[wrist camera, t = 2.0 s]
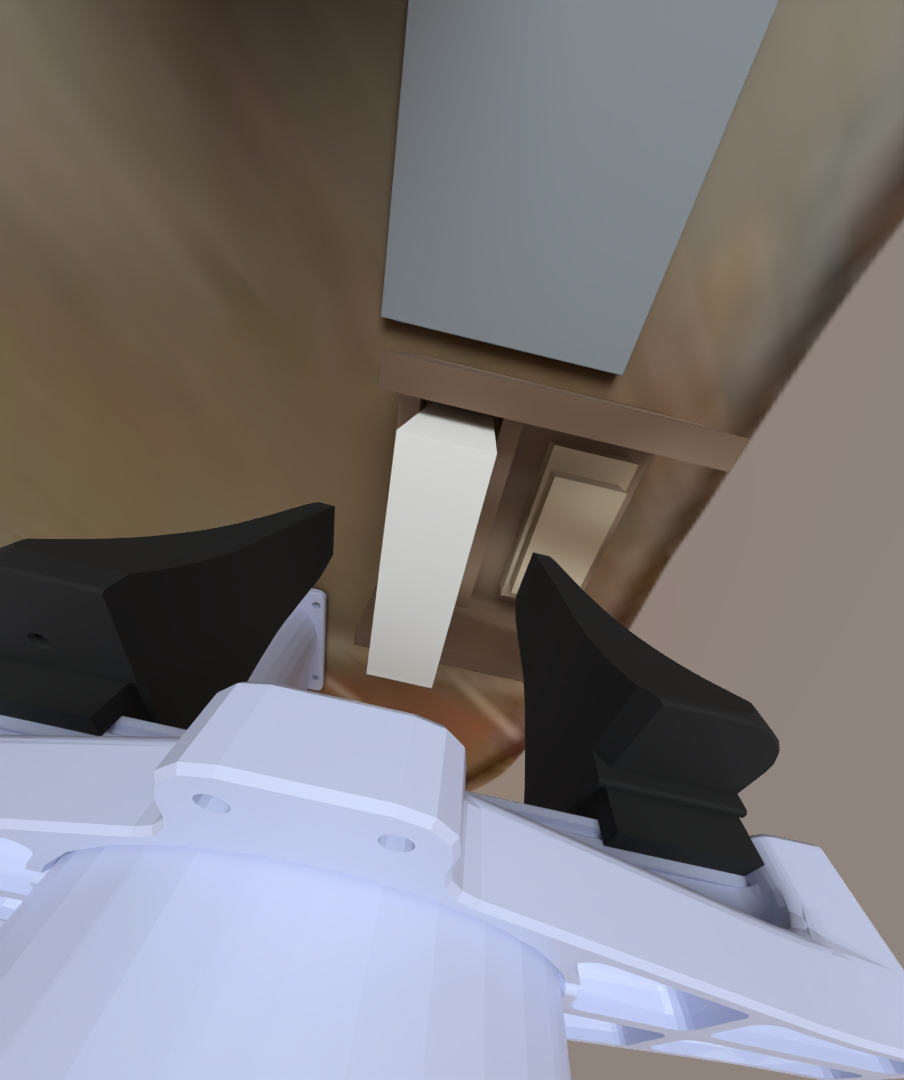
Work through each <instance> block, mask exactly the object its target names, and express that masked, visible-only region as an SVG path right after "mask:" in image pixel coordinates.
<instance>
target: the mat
mask: <svg viewBox="0 0 904 1080" xmlns="http://www.w3.org/2000/svg"><path fill="white" fill-rule="evenodd" d="M778 1H779V0H409V2H408V13H407V25H406V36H405V48H404V59H403V71H402V82H401V94H400V105H399V117H398V128H397V140H396V151H395V163H394V174H393V186H392V197H391V208H390V220H389V231H388V243H387V254H386V266H385V277H384V289H383V300H382V312H381V317H383V318H386V319H390V320H394V321H398V322H402V323H406V324H411V325H415V326H419V327H423V328H427V329H431V330H435V331H439V332H443V333H448V334H452V335H456V336H460V337H464V338H468V339H472V340H476V341H480V342H485V343H489V344H493V345H497V346H501V347H505V348H509V349H513V350H517V351H522V352H526V353H530V354H534V355H538V356H542V357H546V358H550V359H554V360H559V361H563V362H567V363H571V364H575V365H579V366H583V367H587V368H591V369H596V370H600V371H604V372H608V373H612V374H616V375H623V373H624V370H625V368H626V365H627V363H628V361H629V358H630V356H631V353H632V351H633V349H634V346H635V344H636V341H637V339H638V337H639V334H640V332H641V329H642V327H643V325H644V322H645V320H646V317H647V315H648V313H649V310H650V308H651V305H652V303H653V301H654V298H655V296H656V293H657V291H658V289H659V286H660V284H661V281H662V279H663V277H664V274H665V272H666V269H667V267H668V265H669V262H670V260H671V257H672V255H673V253H674V250H675V248H676V245H677V243H678V241H679V238H680V236H681V233H682V231H683V229H684V226H685V224H686V221H687V219H688V217H689V214H690V212H691V209H692V207H693V205H694V202H695V200H696V197H697V195H698V193H699V190H700V188H701V185H702V183H703V181H704V178H705V176H706V173H707V171H708V169H709V166H710V164H711V161H712V159H713V157H714V154H715V152H716V149H717V147H718V145H719V142H720V140H721V137H722V135H723V133H724V130H725V128H726V125H727V123H728V121H729V118H730V116H731V113H732V111H733V109H734V106H735V104H736V101H737V99H738V97H739V94H740V92H741V89H742V87H743V85H744V82H745V80H746V77H747V75H748V73H749V70H750V68H751V65H752V63H753V61H754V58H755V56H756V53H757V51H758V49H759V46H760V44H761V41H762V39H763V37H764V34H765V32H766V29H767V27H768V25H769V22H770V20H771V17H772V15H773V13H774V10H775V8H776V5H777V3H778Z"/></svg>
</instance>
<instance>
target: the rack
mask: <svg viewBox="0 0 904 1080" xmlns="http://www.w3.org/2000/svg"><path fill="white" fill-rule="evenodd" d="M378 388H379V389H384V390H388V391H392V392H396V393H400V401H399V409H398V417H397V425H396V431H397V429H398V428H400V427H401V426H402V425H404V424H405V423H406V422H408V421H409V420H410V419H411V418H413V417H414V416H415V415H417V414H418V413H419V412H420V411H422V410H423V409H424V408H426V407H427V406H428V405H429V404H431V403H432V402H433V401H434V402H438V403H442V404H446V405H451V406H455V407H459V408H463V409H467V410H471V411H476V412H480V413H484V414H488V415H492V416H493V423H494V432H495V440H496V449H497V456H496V459H495V463H494V466H493V470H492V474H491V477H490V481H489V484H488V488H487V492H486V495H485V499H484V502H483V506H482V509H481V513H480V517H479V520H478V524H477V527H476V531H475V535H474V538H473V542H472V545H471V549H470V553H469V556H468V560H467V563H466V567H465V571H464V574H463V578H462V581H461V585H460V589H459V592H458V596H457V599H456V603H455V607H454V610H453V614H452V617H451V621H450V625H449V628H448V632H447V635H446V639H445V642H444V646H443V650H442V653H441V657H440V660H439V663H441V664H445V665H450V666H454V667H459V668H463V669H468V670H472V671H477V672H481V673H486V674H490V675H495V676H499V677H504V678H508V679H513V680H517V681H522V682H524V679H523V671H522V664H521V657H520V650H519V643H518V636H517V628H516V614H515V609H516V598H512V597H508V596H503V595H501V592H500V582H501V579H502V576H503V574H504V571H505V568H506V565H507V562H508V559H509V557H510V554H511V551H512V548H513V545H514V542H515V539H516V537H517V534H518V531H519V528H520V525H521V522H522V519H523V517H524V514H525V511H526V508H527V505H528V502H529V500H530V497H531V494H532V491H533V488H534V485H535V482H536V480H537V477H538V474H539V471H540V468H541V465H542V462H543V460H544V457H545V454H546V451H547V448H548V445H549V442H550V440H553V441H558V442H562V443H566V444H570V445H574V446H579V447H583V448H587V449H591V450H595V451H600V452H604V453H608V454H612V455H616V456H621V457H625V458H629V459H631V460H632V461H634V462H635V463H637V464H638V465H639V466H638V468H637V470H636V472H635V474H634V476H633V478H632V480H631V482H630V484H629V486H628V488H627V490H626V493H627V495H626V497H625V499H624V501H623V503H622V505H621V507H620V509H619V511H618V513H617V515H616V517H615V519H614V521H613V523H612V525H611V527H610V529H609V531H608V533H607V535H606V537H605V539H604V541H603V543H602V545H601V547H600V549H599V551H598V553H597V555H596V557H595V559H594V561H593V563H592V565H591V567H590V569H589V571H588V573H587V575H586V577H585V579H584V581H583V583H582V585H581V587H580V588H581V589H582V590H583V591H584V590H585V588H586V586H587V584H588V582H589V580H590V578H591V576H592V574H593V572H594V570H595V568H596V566H597V564H598V562H599V561H600V559H601V557H602V555H603V553H604V551H605V549H606V547H607V545H608V543H609V541H610V539H611V537H612V535H613V533H614V531H615V529H616V527H617V525H618V524H619V522H620V520H621V518H622V516H623V514H624V512H625V510H626V508H627V506H628V504H629V502H630V500H631V498H632V496H633V494H634V492H635V490H636V488H637V486H638V485H639V483H640V481H641V479H642V477H643V475H644V473H645V471H646V469H647V467H648V465H649V463H650V461H651V459H652V457H653V455H654V454H656V455H660V456H664V457H668V458H673V459H677V460H681V461H685V462H689V463H693V464H698V465H702V466H706V467H710V468H714V469H719V470H723V471H727V472H729V471H730V469H731V468H732V466H733V464H734V463H735V461H736V460H737V458H738V457H739V455H740V454H741V452H742V450H743V449H744V447H745V446H746V444H747V443H748V441H749V440H750V439H747V438H743V437H740V436H737V435H733V434H730V433H727V432H723V431H720V430H717V429H713V428H710V427H707V426H703V425H700V424H697V423H693V422H690V421H687V420H683V419H680V418H677V417H673V416H670V415H667V414H663V413H659V412H655V411H651V410H647V409H643V408H639V407H635V406H630V405H626V404H622V403H618V402H614V401H610V400H606V399H602V398H597V397H593V396H589V395H585V394H581V393H577V392H573V391H568V390H564V389H560V388H556V387H552V386H548V385H544V384H539V383H535V382H531V381H527V380H523V379H519V378H515V377H510V376H506V375H502V374H498V373H494V372H490V371H486V370H481V369H477V368H473V367H469V366H465V365H461V364H457V363H452V362H448V361H444V360H440V359H436V358H432V357H428V356H423V355H419V354H413V353H402V352H392V351H381V358H380V369H379V380H378ZM395 439H396V433H395ZM394 447H395V441H394ZM393 455H394V450H393ZM392 463H393V458H392ZM391 471H392V466H391ZM390 479H391V474H390ZM389 488H390V482H389ZM388 496H389V490H388ZM387 504H388V498H387ZM386 512H387V507H386ZM385 520H386V515H385ZM384 528H385V523H384ZM383 536H384V531H383ZM382 544H383V539H382ZM381 552H382V547H381ZM380 560H381V555H380ZM379 568H380V564H379ZM378 576H379V572H378ZM377 584H378V580H377ZM376 592H377V586H376V588H375V590H374V592H373V594H372V596H371V598H370V601H369V603H368V605H367V607H366V609H365V611H364V613H363V615H362V617H361V619H360V621H359V623H358V625H357V627H356V632H355V643H354V644H355V645H359V646H364V647H368V648H370V641H371V633H372V625H373V617H374V609H375V601H376Z"/></svg>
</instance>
